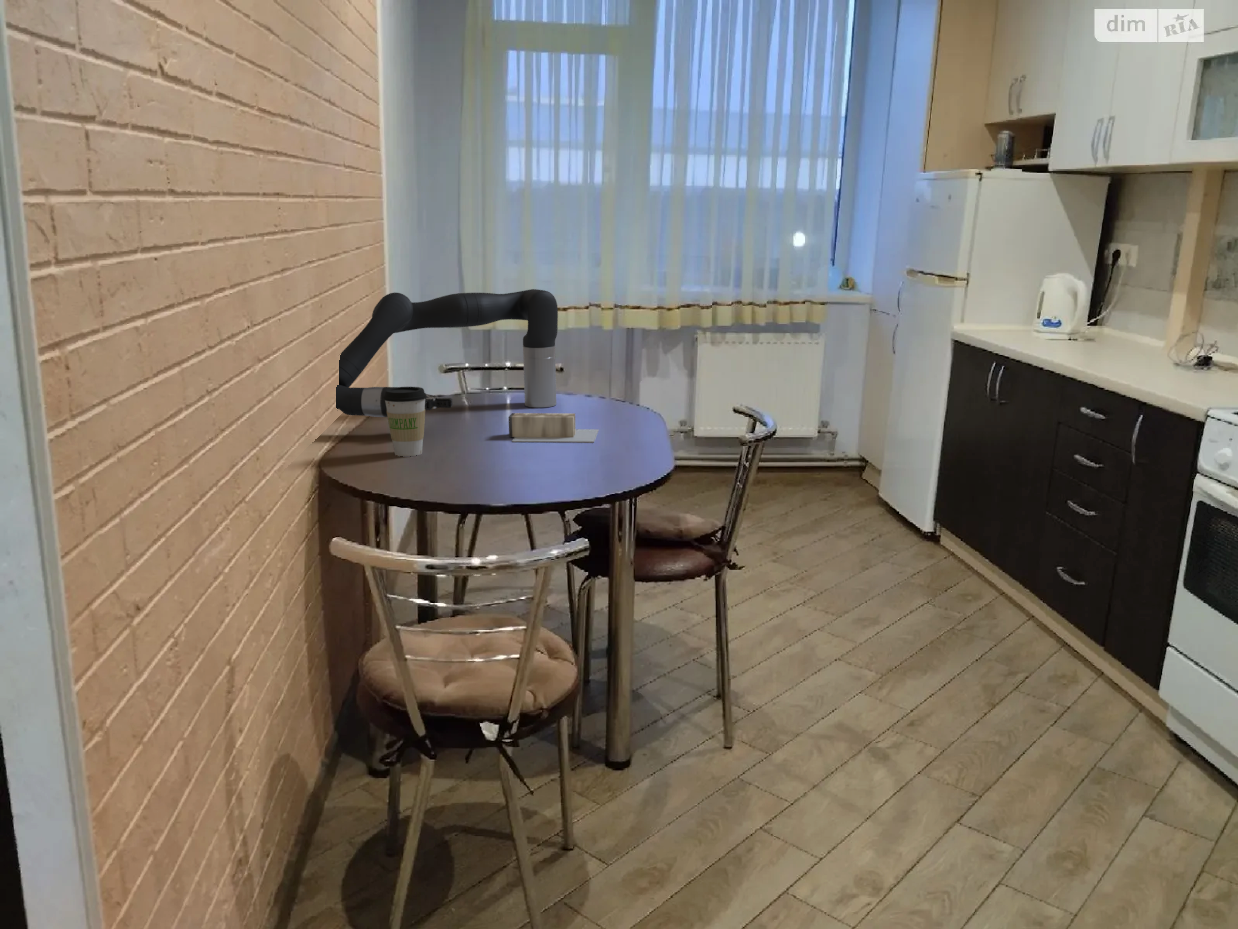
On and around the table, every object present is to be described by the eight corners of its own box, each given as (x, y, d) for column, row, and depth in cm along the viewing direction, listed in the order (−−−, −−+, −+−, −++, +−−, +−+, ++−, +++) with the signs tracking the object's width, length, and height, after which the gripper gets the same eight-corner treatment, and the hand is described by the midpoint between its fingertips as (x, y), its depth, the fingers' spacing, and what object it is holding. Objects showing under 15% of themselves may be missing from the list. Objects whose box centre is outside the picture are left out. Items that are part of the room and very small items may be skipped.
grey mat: (521, 430, 250) (521, 428, 250) (598, 430, 249) (598, 429, 249) (512, 442, 237) (512, 440, 237) (593, 442, 236) (593, 441, 236)
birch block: (511, 413, 245) (575, 413, 244) (512, 432, 246) (575, 432, 245) (508, 416, 240) (573, 417, 239) (509, 436, 241) (573, 437, 240)
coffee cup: (378, 454, 225) (373, 390, 222) (413, 446, 232) (409, 384, 229) (403, 460, 219) (399, 394, 215) (438, 453, 226) (435, 389, 222)
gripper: (374, 391, 236) (444, 392, 235) (390, 382, 249) (457, 383, 248) (376, 421, 238) (446, 422, 237) (391, 411, 251) (458, 412, 250)
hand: (451, 402), depth 242 cm, fingers closed
